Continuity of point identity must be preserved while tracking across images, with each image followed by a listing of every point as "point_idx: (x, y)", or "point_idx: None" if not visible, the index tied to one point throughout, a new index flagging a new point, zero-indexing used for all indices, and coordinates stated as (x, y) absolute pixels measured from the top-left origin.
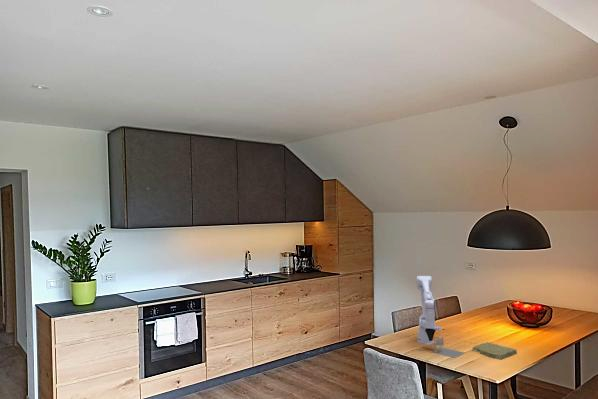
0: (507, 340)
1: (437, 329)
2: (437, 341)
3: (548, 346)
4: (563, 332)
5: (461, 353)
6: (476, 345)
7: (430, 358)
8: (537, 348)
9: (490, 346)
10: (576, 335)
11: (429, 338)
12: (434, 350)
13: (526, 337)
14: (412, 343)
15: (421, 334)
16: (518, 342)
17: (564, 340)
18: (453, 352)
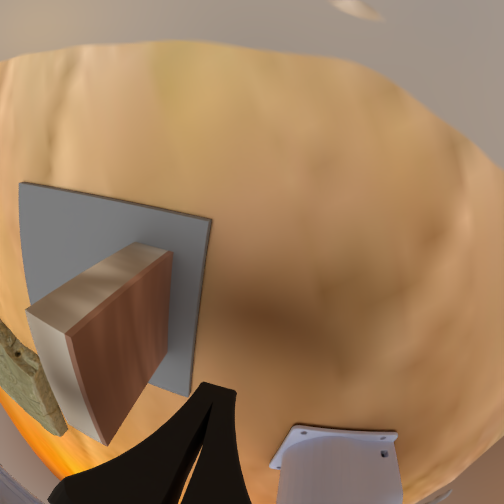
0: (75, 461)
1: (2, 485)
2: (46, 298)
3: (12, 415)
4: (62, 475)
5: (34, 302)
6: (33, 394)
7: (158, 53)
8: (8, 403)
9: (11, 386)
10: (42, 460)
11: (211, 412)
12: (165, 258)
13: (70, 469)
14: (432, 402)
15: (370, 490)
16: (51, 445)
17: (29, 443)
18: None
